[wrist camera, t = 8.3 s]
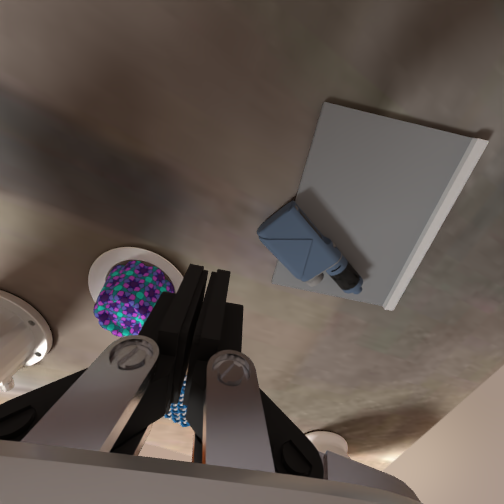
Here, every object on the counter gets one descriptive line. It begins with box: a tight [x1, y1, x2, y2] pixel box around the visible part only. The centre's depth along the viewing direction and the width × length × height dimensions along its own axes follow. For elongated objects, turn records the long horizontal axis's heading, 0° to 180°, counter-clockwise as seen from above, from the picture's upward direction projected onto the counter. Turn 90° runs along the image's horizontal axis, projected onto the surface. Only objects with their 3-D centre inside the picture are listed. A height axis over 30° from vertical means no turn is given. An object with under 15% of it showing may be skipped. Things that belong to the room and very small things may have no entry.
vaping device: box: [257, 200, 363, 294], centre depth 26 cm, size 3×5×12 cm
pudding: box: [88, 247, 183, 337], centre depth 29 cm, size 12×12×5 cm
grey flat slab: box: [272, 102, 489, 311], centre depth 25 cm, size 18×14×1 cm
